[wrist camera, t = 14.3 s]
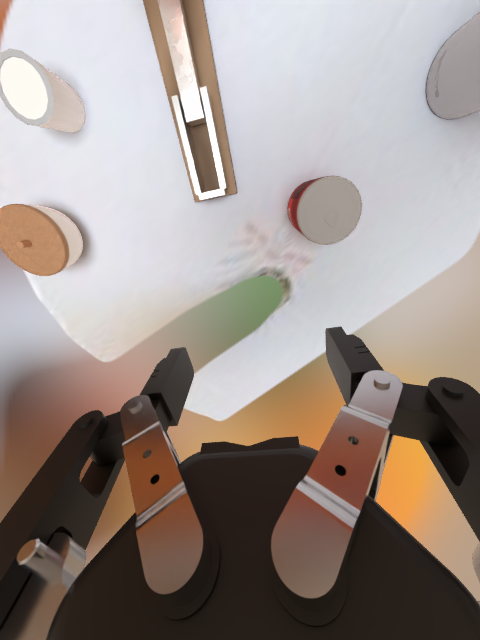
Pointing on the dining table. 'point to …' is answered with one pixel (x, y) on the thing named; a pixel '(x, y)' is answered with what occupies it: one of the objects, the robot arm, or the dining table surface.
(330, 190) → the canned food
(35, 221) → the lidded jar
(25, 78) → the beige cylindrical piece
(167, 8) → the sliding bolt with handle
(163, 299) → the dining table surface
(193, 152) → the guide sleeve
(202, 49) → the plank
